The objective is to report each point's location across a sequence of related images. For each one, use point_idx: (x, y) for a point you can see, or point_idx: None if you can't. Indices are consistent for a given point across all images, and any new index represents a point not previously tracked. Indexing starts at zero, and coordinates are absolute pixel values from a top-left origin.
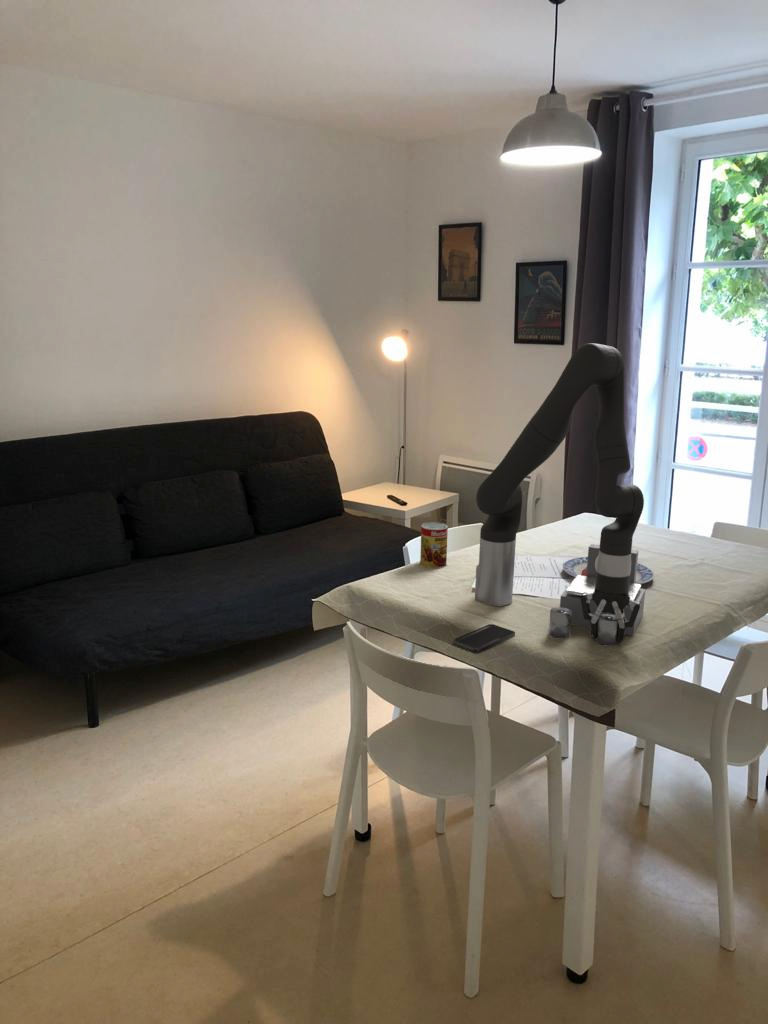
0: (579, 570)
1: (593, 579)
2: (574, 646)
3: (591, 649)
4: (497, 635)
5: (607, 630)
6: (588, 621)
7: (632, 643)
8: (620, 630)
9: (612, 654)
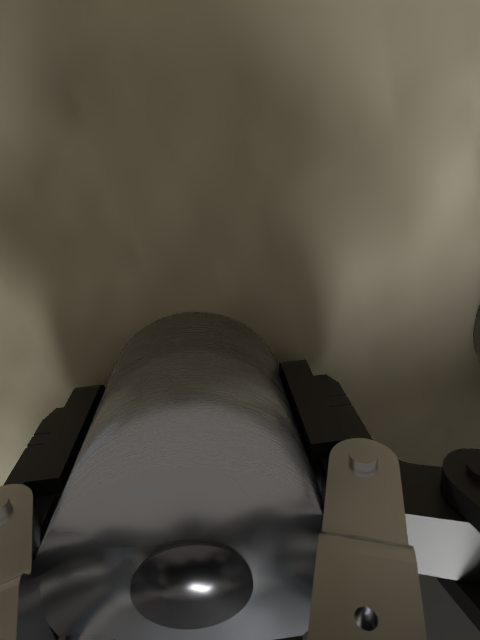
0: None
1: None
2: (412, 140)
3: (257, 162)
4: None
5: (161, 388)
6: None
7: None
8: (38, 464)
9: (50, 157)
